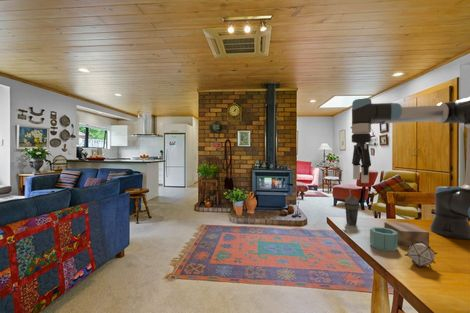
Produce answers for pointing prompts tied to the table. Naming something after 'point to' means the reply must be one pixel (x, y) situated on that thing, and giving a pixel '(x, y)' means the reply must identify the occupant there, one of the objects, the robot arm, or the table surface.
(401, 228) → the brown wooden block
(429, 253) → the game die
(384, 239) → the bowl
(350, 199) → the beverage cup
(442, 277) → the table surface
